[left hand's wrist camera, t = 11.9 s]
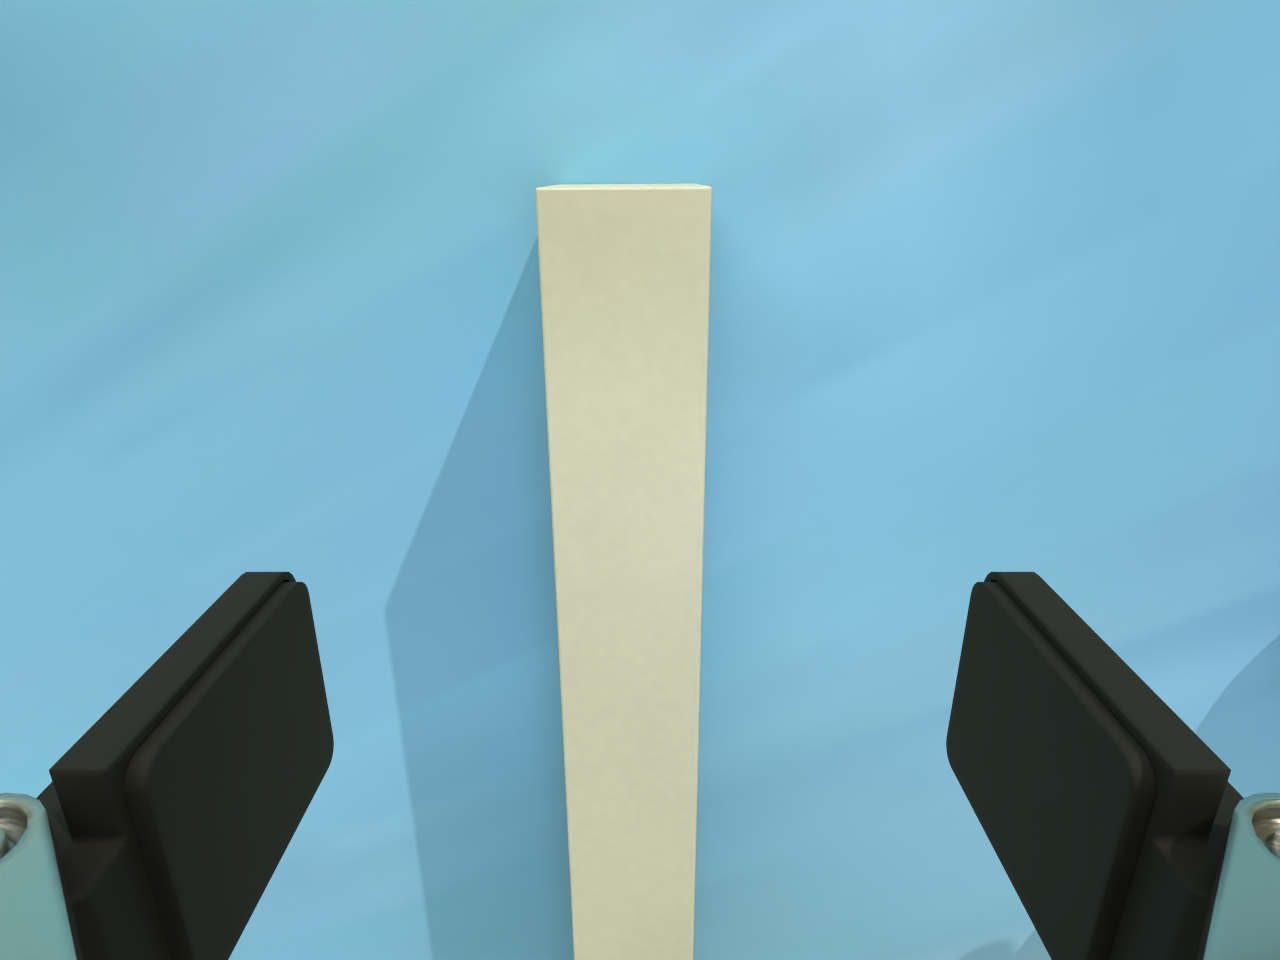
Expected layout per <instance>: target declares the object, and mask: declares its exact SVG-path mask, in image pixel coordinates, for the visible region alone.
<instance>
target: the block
mask: <svg viewBox="0 0 1280 960" xmlns="http://www.w3.org/2000/svg"><path fill="white" fill-rule="evenodd" d="M535 193H536V213H537V233H538V253H539V272H540V292H541V312H542V332H543V352H544V372H545V392H546V412H547V432H548V451H549V471H550V491H551V511H552V531H553V551H554V571H555V591H556V611H557V630H558V650H559V670H560V690H561V710H562V730H563V750H564V770H565V790H566V809H567V829H568V849H569V869H570V889H571V909H572V929H573V949H574V960H693V947H694V906H695V865H696V824H697V784H698V743H699V702H700V661H701V620H702V579H703V538H704V497H705V456H706V415H707V375H708V334H709V293H710V252H711V211H712V188H711V187H709V186H704V185H699V184H563V185H553V186H546V187H539V188H536V190H535Z"/></svg>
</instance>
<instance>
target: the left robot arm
mask: <svg viewBox="0 0 1280 960" xmlns="http://www.w3.org/2000/svg"><path fill="white" fill-rule="evenodd" d="M333 746H334V741H333V733H332V727H331V721H330V715H329V710H328V704H327V698H326V692H325V686H324V680H323V674H322V668H321V662H320V656H319V651H318V645H317V639H316V633H315V627H314V621H313V615H312V609H311V603H310V597H309V592H308V589H307V586H306V585H305V584H304V583H303V582H296V580H295V579H294V577H293V575H292V574H291V573H289V572H246V573H244V574H243V575H241V576H240V577H239V578H238V579H237V580H236V581H235V582H234V583H233V584H232V585H231V586H230V587H229V588H228V589H227V590H226V591H225V592H224V593H223V594H222V595H221V596H220V597H219V598H218V599H217V600H216V601H215V603H214V604H213V605H212V606H211V607H210V608H209V609H208V610H207V611H206V612H205V613H204V614H203V615H202V616H201V617H200V618H199V619H198V620H197V621H196V622H195V623H194V624H193V625H192V626H191V627H190V628H189V629H188V630H187V631H186V632H185V633H184V634H183V635H182V636H181V637H180V638H179V639H178V640H177V641H176V642H175V643H174V644H173V645H172V646H171V647H170V648H169V649H168V650H167V651H166V652H165V653H164V654H163V655H162V656H161V657H160V658H159V659H158V660H157V661H156V662H155V663H154V664H153V665H152V666H151V667H150V668H149V669H148V670H147V671H146V672H145V673H144V674H143V675H142V676H141V677H140V678H139V679H138V680H137V681H136V682H135V683H134V685H133V686H132V687H131V688H130V689H129V690H128V691H127V692H126V693H125V694H124V695H123V696H122V697H121V698H120V699H119V700H118V701H117V702H116V703H115V704H114V705H113V706H112V707H111V708H110V709H109V710H108V711H107V712H106V713H105V714H104V715H103V716H102V717H101V718H100V719H99V720H98V721H97V722H96V723H95V724H94V725H93V726H92V727H91V728H90V729H89V730H88V731H87V732H86V733H85V734H84V735H83V736H82V737H81V738H80V739H79V740H78V741H77V742H76V743H75V744H74V745H73V746H72V747H71V748H70V749H69V750H68V751H67V752H66V753H65V754H64V755H63V756H62V757H61V758H60V759H59V760H58V761H57V762H56V763H55V764H54V765H53V767H52V768H51V769H50V770H49V772H50V775H51V778H52V783H51V784H50V785H49V786H48V787H47V788H46V789H45V790H44V791H43V792H42V793H41V794H40V795H39V796H38V797H37V798H36V799H35V798H33V797H31V796H29V795H26V794H14V793H3V794H0V960H228V959H229V957H230V955H231V953H232V951H233V949H234V948H235V946H236V944H237V942H238V940H239V938H240V936H241V934H242V932H243V930H244V928H245V926H246V925H247V923H248V921H249V919H250V917H251V915H252V913H253V911H254V909H255V907H256V905H257V904H258V902H259V900H260V898H261V896H262V894H263V892H264V890H265V888H266V886H267V884H268V882H269V881H270V879H271V877H272V875H273V873H274V871H275V869H276V867H277V865H278V863H279V861H280V860H281V858H282V856H283V854H284V852H285V850H286V848H287V846H288V844H289V842H290V840H291V838H292V837H293V835H294V833H295V831H296V829H297V827H298V825H299V823H300V821H301V819H302V817H303V816H304V814H305V812H306V810H307V808H308V806H309V804H310V802H311V800H312V798H313V796H314V794H315V793H316V791H317V789H318V787H319V785H320V783H321V781H322V779H323V777H324V775H325V773H326V772H327V770H328V768H329V765H330V763H331V759H332V755H333ZM946 746H947V755H948V759H949V763H950V765H951V768H952V770H953V772H954V773H955V775H956V777H957V779H958V781H959V783H960V785H961V787H962V789H963V791H964V793H965V794H966V796H967V798H968V800H969V802H970V804H971V806H972V808H973V810H974V812H975V814H976V816H977V817H978V819H979V821H980V823H981V825H982V827H983V829H984V831H985V833H986V835H987V837H988V838H989V840H990V842H991V844H992V846H993V848H994V850H995V852H996V854H997V856H998V858H999V860H1000V861H1001V863H1002V865H1003V867H1004V869H1005V871H1006V873H1007V875H1008V877H1009V879H1010V881H1011V882H1012V884H1013V886H1014V888H1015V890H1016V892H1017V894H1018V896H1019V898H1020V900H1021V902H1022V904H1023V905H1024V907H1025V909H1026V911H1027V913H1028V915H1029V917H1030V919H1031V921H1032V923H1033V925H1034V926H1035V928H1036V930H1037V932H1038V934H1039V936H1040V938H1041V940H1042V942H1043V944H1044V946H1045V948H1046V949H1047V951H1048V953H1049V955H1050V957H1051V959H1052V960H1280V794H1277V793H1266V794H1254V795H1251V796H1249V797H1247V798H1245V799H1244V798H1243V797H1242V796H1241V795H1240V794H1239V793H1238V792H1237V791H1236V790H1235V789H1234V788H1233V787H1232V786H1231V785H1230V784H1229V783H1228V778H1229V775H1230V772H1231V770H1230V769H1229V768H1228V767H1227V766H1226V764H1225V763H1224V762H1223V761H1222V760H1221V759H1220V758H1219V757H1218V756H1217V755H1216V754H1215V753H1214V752H1213V751H1212V750H1211V749H1210V748H1209V747H1208V746H1207V745H1206V744H1205V743H1204V742H1203V741H1202V740H1201V739H1200V738H1199V737H1198V736H1197V735H1196V734H1195V733H1194V732H1193V731H1192V730H1191V729H1190V728H1189V727H1188V726H1187V725H1186V724H1185V723H1184V722H1183V721H1182V720H1181V719H1180V718H1179V717H1178V716H1177V715H1176V714H1175V713H1174V712H1173V711H1172V710H1171V709H1170V708H1169V707H1168V706H1167V705H1166V704H1165V703H1164V702H1163V701H1162V700H1161V699H1160V698H1159V697H1158V696H1157V695H1156V694H1155V693H1154V692H1153V691H1152V690H1151V689H1150V688H1149V687H1148V686H1147V685H1146V684H1145V682H1144V681H1143V680H1142V679H1141V678H1140V677H1139V676H1138V675H1137V674H1136V673H1135V672H1134V671H1133V670H1132V669H1131V668H1130V667H1129V666H1128V665H1127V664H1126V663H1125V662H1124V661H1123V660H1122V659H1121V658H1120V657H1119V656H1118V655H1117V654H1116V653H1115V652H1114V651H1113V650H1112V649H1111V648H1110V647H1109V646H1108V645H1107V644H1106V643H1105V642H1104V641H1103V640H1102V639H1101V638H1100V637H1099V636H1098V635H1097V634H1096V633H1095V632H1094V631H1093V630H1092V629H1091V628H1090V627H1089V626H1088V625H1087V624H1086V623H1085V622H1084V621H1083V620H1082V619H1081V618H1080V617H1079V616H1078V615H1077V614H1076V613H1075V612H1074V611H1073V610H1072V609H1071V608H1070V607H1069V606H1068V605H1067V604H1066V603H1065V602H1064V600H1063V599H1062V598H1061V597H1060V596H1059V595H1058V594H1057V593H1056V592H1055V591H1054V590H1053V589H1052V588H1051V587H1050V586H1049V585H1048V584H1047V583H1046V582H1045V581H1044V580H1043V579H1042V578H1041V577H1040V576H1039V575H1037V574H1036V573H1034V572H991V573H989V574H988V575H987V577H986V579H985V580H984V582H977V583H976V584H975V585H974V586H973V589H972V592H971V597H970V603H969V609H968V615H967V621H966V627H965V633H964V639H963V645H962V651H961V656H960V662H959V668H958V674H957V680H956V686H955V692H954V698H953V704H952V710H951V715H950V721H949V727H948V733H947V741H946Z"/></svg>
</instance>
